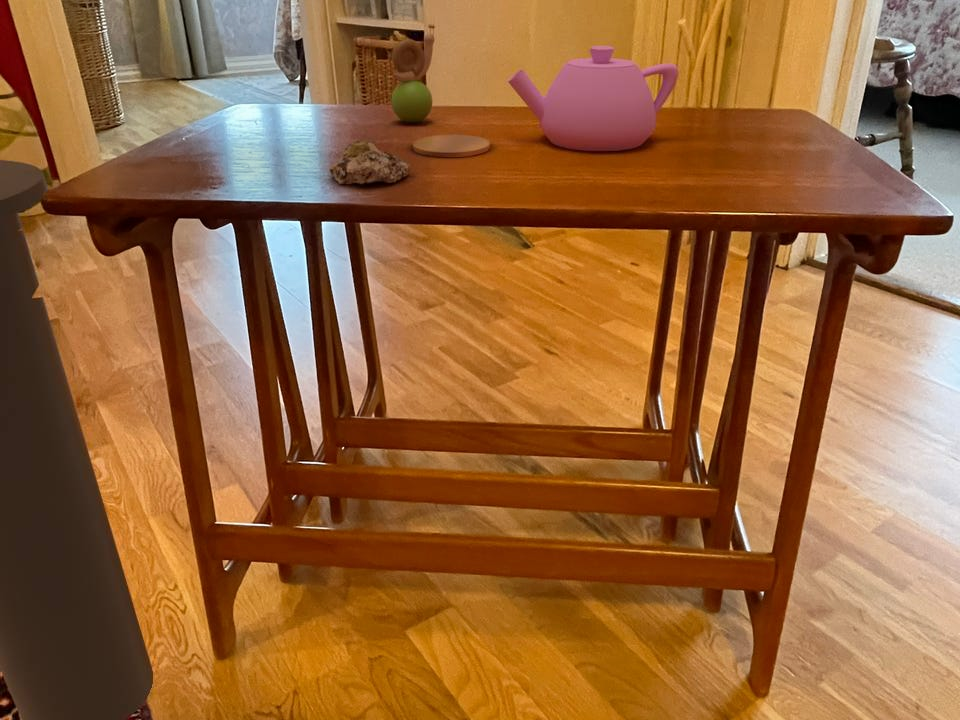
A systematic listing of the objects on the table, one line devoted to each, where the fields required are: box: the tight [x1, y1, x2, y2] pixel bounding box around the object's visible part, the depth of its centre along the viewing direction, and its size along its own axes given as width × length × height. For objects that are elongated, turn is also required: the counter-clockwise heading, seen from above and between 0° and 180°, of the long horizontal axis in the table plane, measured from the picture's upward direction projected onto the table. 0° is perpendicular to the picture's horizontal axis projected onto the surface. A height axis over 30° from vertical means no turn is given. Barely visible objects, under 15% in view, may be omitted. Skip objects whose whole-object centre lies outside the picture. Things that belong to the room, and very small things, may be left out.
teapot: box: [507, 45, 680, 152], centre depth 93 cm, size 14×20×11 cm
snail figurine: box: [390, 23, 436, 124], centre depth 102 cm, size 5×6×12 cm
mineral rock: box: [328, 139, 411, 185], centre depth 81 cm, size 11×4×8 cm
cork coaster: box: [412, 134, 491, 158], centre depth 92 cm, size 9×9×1 cm
